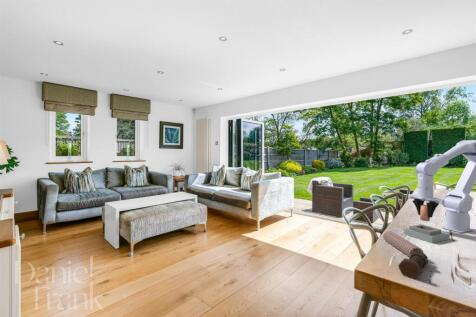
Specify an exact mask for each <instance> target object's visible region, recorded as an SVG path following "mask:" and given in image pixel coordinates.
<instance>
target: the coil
mask: <svg viewBox="0 0 476 317" xmlns="http://www.w3.org/2000/svg"><path fill="white" fill-rule="evenodd" d="M382 237H383V241H385V242H387V243H388V244H390V245H391V246H393V247H394V248H396V249H397V250H399V251H400V252H402V253H403V254H405V255H406V256H407V257H408V258H409V257H410V256H411V255H412V254H413V253H414V252H421V253H424V254H425V252H424V250H423V249H422V248H421V247H419V246H418V245H416V244H414V243H412V242H410V241H409V240H408V239H406V238H405V237H404V238H403V237H402V236H400V235H399V234H397V233H395V232H394V231H391V230H386V231H385V232H384V233H383V235H382Z"/></svg>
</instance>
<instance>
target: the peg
mask: <svg viewBox="0 0 476 317" xmlns="http://www.w3.org/2000/svg"><path fill="white" fill-rule="evenodd" d="M419 219H420V221H424V222H430V221H431V217H430V218H429V217H428V209H427V204H423V205H420V215H419Z"/></svg>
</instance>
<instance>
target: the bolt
mask: <svg viewBox="0 0 476 317" xmlns="http://www.w3.org/2000/svg"><path fill="white" fill-rule="evenodd" d="M428 258H429V257H428V255H426V254H425V252H424V253H421V252H414V253H413V254H412V255H411V256H410V257H409V256H408V258H406V257H405V258H403V259H402V260H401V262H400V263H399V264H397V266H398V269H399V270H400V271H399V272H400V273H401V274H402V275H403V276H404V277H406V278H409V279H412V280H416V279H418V277H419V276H420V275H422V273H423V269H424V268H425V267H426V266H427V265H428V264H429V260H428Z"/></svg>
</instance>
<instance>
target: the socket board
mask: <svg viewBox="0 0 476 317" xmlns="http://www.w3.org/2000/svg"><path fill="white" fill-rule="evenodd" d="M404 235H406V236H408V237H412V238H415V239H418V240H421V241H423V242H427V243H429V244H434V243H435V244H436V243H438V242H443V241H448V240H450V236H451V234H450V233H449V232H445V231H442V229H440V228H437V227H433V226H428V225H426V224H421V223H420V224H415V225H411V226H409V227H407V228H404Z"/></svg>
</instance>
